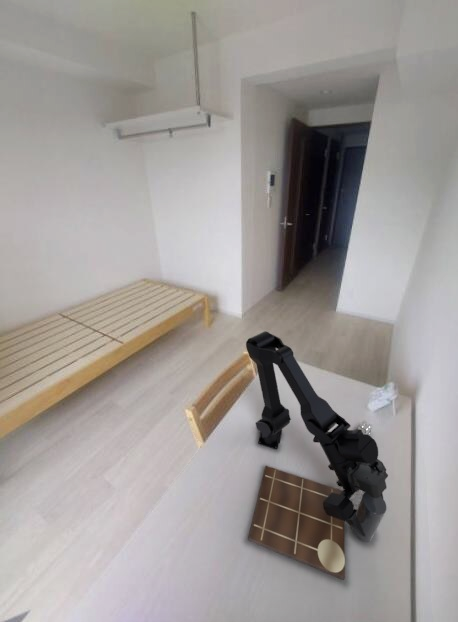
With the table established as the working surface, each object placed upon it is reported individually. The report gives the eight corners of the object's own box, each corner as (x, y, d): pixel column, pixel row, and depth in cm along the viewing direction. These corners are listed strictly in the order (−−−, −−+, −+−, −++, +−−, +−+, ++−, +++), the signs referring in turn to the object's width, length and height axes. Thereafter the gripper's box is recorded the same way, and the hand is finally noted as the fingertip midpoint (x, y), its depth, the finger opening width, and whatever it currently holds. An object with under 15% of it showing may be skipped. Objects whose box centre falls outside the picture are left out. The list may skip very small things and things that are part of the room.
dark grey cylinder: (351, 537, 67) (363, 509, 61) (350, 515, 71) (361, 487, 65) (374, 545, 65) (388, 518, 59) (371, 522, 69) (384, 494, 63)
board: (248, 540, 66) (248, 537, 66) (265, 468, 82) (265, 465, 81) (343, 580, 60) (345, 577, 59) (342, 493, 76) (343, 490, 75)
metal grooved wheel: (362, 427, 95) (365, 417, 92) (371, 433, 92) (374, 423, 90) (355, 435, 92) (358, 425, 89) (363, 441, 90) (367, 431, 87)
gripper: (343, 487, 55) (385, 567, 52) (387, 437, 65) (424, 502, 62) (307, 479, 64) (341, 546, 61) (351, 436, 74) (381, 492, 71)
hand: (373, 521), depth 64 cm, fingers open, 9 cm apart
